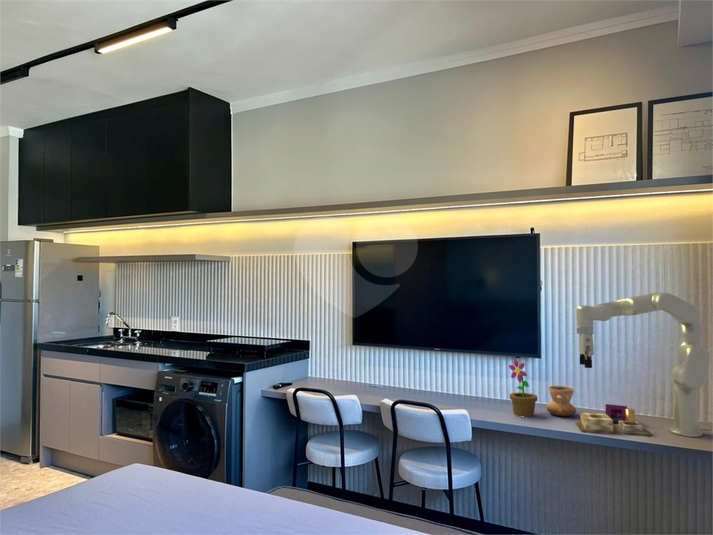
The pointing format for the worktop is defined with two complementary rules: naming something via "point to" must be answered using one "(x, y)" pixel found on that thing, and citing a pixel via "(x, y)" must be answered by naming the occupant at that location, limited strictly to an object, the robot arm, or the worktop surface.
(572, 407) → the ceramic jug
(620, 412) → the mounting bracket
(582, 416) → the docking station
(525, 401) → the flowerpot
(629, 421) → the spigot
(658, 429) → the worktop surface
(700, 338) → the robot arm
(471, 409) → the worktop surface
